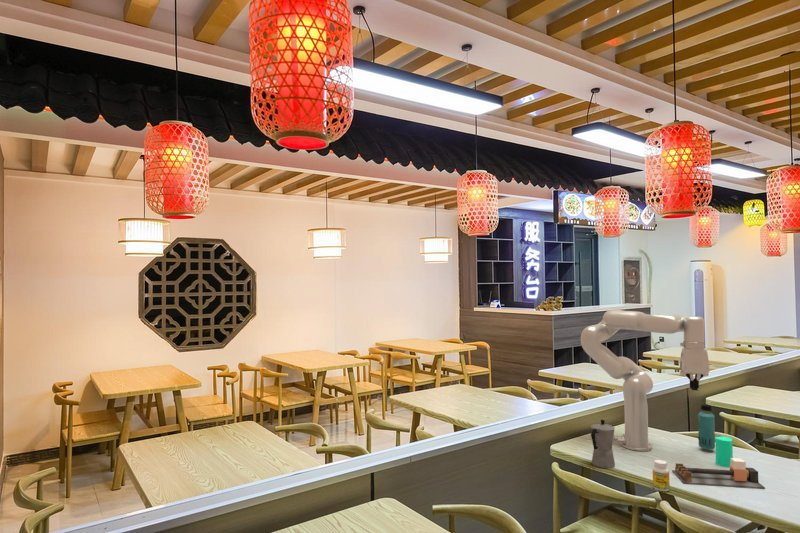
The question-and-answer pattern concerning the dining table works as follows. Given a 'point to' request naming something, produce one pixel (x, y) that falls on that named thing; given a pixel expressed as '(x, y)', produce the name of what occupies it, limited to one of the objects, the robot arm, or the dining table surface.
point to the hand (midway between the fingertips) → (694, 389)
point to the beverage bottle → (706, 428)
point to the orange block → (738, 469)
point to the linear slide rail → (715, 477)
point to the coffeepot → (602, 445)
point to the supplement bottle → (661, 476)
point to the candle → (723, 451)
